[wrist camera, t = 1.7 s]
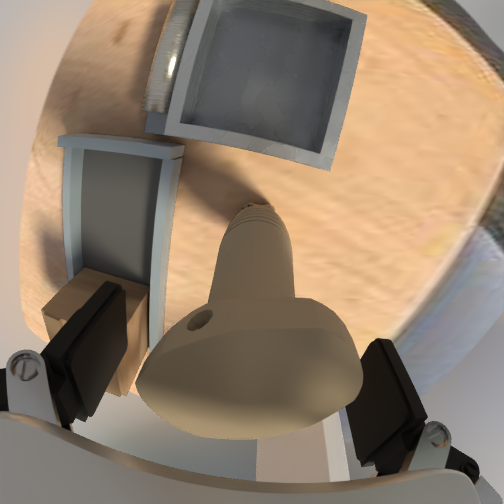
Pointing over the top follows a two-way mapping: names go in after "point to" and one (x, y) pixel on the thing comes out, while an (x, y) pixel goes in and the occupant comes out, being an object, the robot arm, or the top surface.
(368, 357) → the robot arm
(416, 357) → the top surface
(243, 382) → the handle
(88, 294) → the crate
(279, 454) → the milk carton
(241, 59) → the gray square tray
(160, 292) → the bay
